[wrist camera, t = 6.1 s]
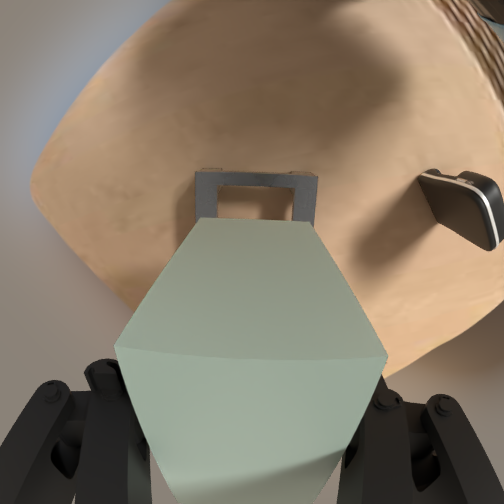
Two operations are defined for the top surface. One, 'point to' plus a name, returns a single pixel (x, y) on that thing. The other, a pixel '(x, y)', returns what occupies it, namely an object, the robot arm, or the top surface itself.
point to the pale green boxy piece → (249, 364)
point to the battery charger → (466, 205)
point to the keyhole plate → (214, 178)
